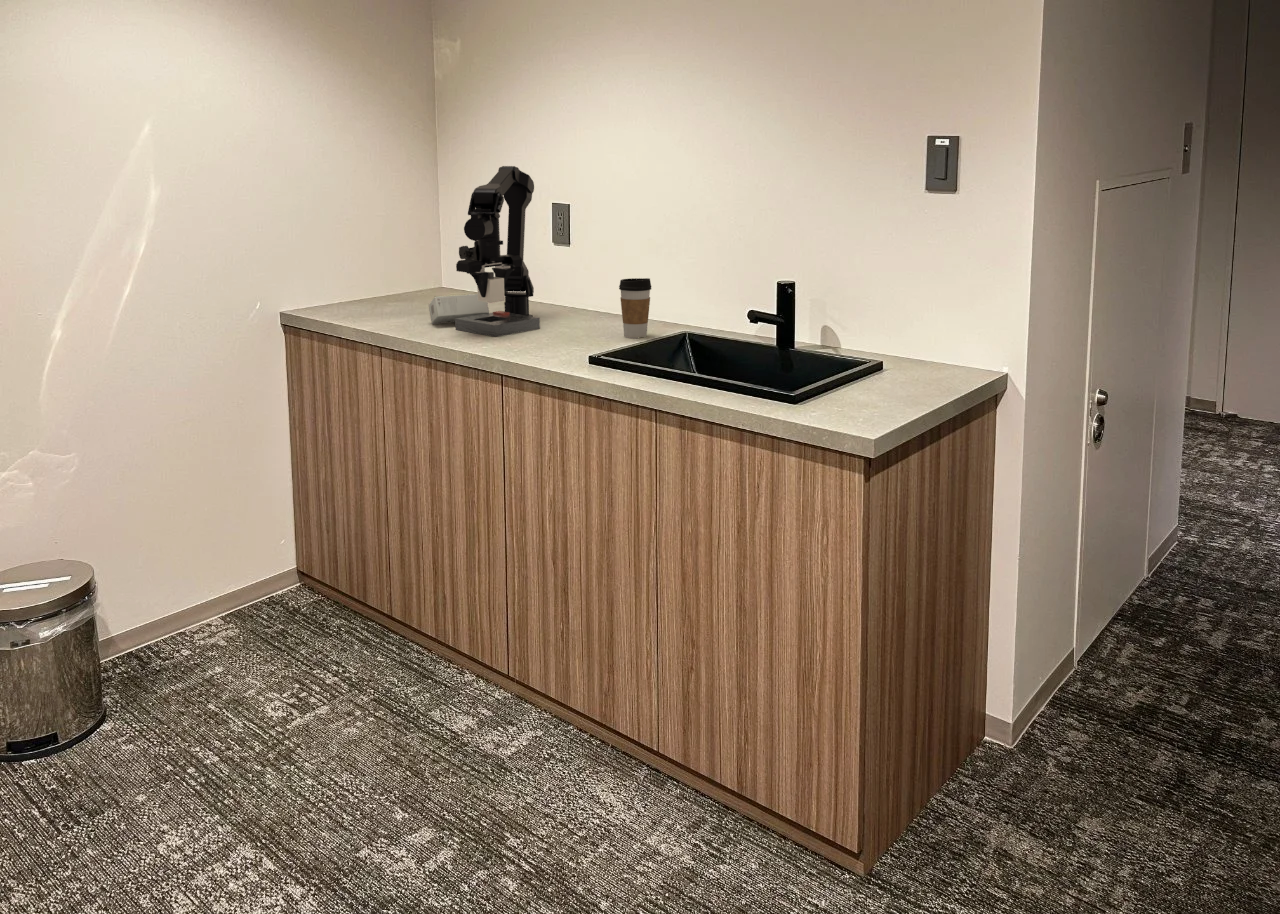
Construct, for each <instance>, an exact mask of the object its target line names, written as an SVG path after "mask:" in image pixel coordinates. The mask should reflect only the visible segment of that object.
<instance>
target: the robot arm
mask: <svg viewBox="0 0 1280 914" xmlns="http://www.w3.org/2000/svg"><path fill="white" fill-rule="evenodd" d="M534 191H535V182H534V181H533V179H532V178H531V176H530V174H527V173H526V172H524V171H522V170H520V169H519V167H517V166H515V165H502V166H500V167H499V168H498V171H497V172H496V174H495V175H494V176H493V177H492V178H491V179H490V181H489V182H488V183H486V184H483V185H479V186H477V187H476V188H474V190H473V192H472V193H471V196H470V202H469V206H468V209H467V210H468V211H467V215H468V216H470V218H469V219H467V220H466V222H465V224H464V227H463V231H464V234H465V236H466V237H467V238H468V239H469V240H471V241H474V243H473V247H469V246H468V245H461V246H459V247H458V256H459V258H460V260H459V259H458V261H457V262H456V264H455V265H456V272H459V273H460V272H461V273H466V274H467V275H468V274H469V275H470V276H471V277H472V278H473V279H474V281H475V284H476V286H478V288H477V290H478V289H479V291H480V294H481V297H485V296H486V291H487V281H488V272H489V271H486V270H485V269H486V268H491V270H492V272H494V277H500V278H504V295H505V301H503V302H504V312H509V313H513V314H520V315H526V316H532V317H534V315H533V314H530V305H529V304H530V303H529V302H530V300H529V299H530V297H531V298H532V297H534V285H533V283H532V280H531V277H530V275H529V269H528V267H527V265H526V264H525V262H524V255H525V254H524V250H525V232H526V231H525V229H526V228H525V227H526V211H527V208H528V207H529V204H530V203H531V202H532V200H533V193H534ZM504 201H505V203H506V205H507V206H508V215H507V216H508V217H507V218H508V222H507V239H506V240H507V243H506V254H502V255H501V245H504V240H501V238H500V235H501V234H500V233H501V232H500V218H501V214H500V213H501V212H502V208H503V205H504Z"/></svg>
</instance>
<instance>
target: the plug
mask: <svg viewBox="0 0 1280 914" xmlns="http://www.w3.org/2000/svg"><path fill="white" fill-rule="evenodd" d="M487 272H488V281H487V291H486V296H485V297H481V294H480V291H479V289H478V286H477V285H476V286H477V294H478V301H482V302H488V303H490V304H493V303H498V302H505V295H504V278H500V277H495V273H494V272H493V271H487Z"/></svg>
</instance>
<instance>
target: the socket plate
mask: <svg viewBox="0 0 1280 914" xmlns="http://www.w3.org/2000/svg"><path fill="white" fill-rule="evenodd" d="M540 322H541V320H540V316H539V317H538V316H533V317H532V316H526V315H520V314H513V313H509V312H505V310H504V311H503V310H496V311H492V312H489V313H487V314H481V315H475V316H468V317H462V318H456V319H455V322H454V323H455V324H454V326H455V327H454V328H455V330H456V331H460V332H465V333H471V334H472V333H473V334H478V335H483V336H489V337H490V336H491V337H495V338H496V337H502V336H507V335H513V334H518V333H522V332H523V333H524V332H528V331H533V330H535V331H536V330H539V329H541V323H540Z"/></svg>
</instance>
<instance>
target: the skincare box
mask: <svg viewBox="0 0 1280 914" xmlns="http://www.w3.org/2000/svg"><path fill="white" fill-rule="evenodd" d="M488 303H489V302H482V301H478V293H469V294H455V295H454V294H453V295H441V296H440V295H439V296H434V298H433V299H431V301H430V302H429V303H428V311H429V316H430V317H429V318H430V322H431V325H435V324H437V325H438V324H445V323H447V324H449V323H455V319H456V318H462V317H468V316H475V315H481V314H487V313H490V310H489V309H490V308H489V304H488Z"/></svg>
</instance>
